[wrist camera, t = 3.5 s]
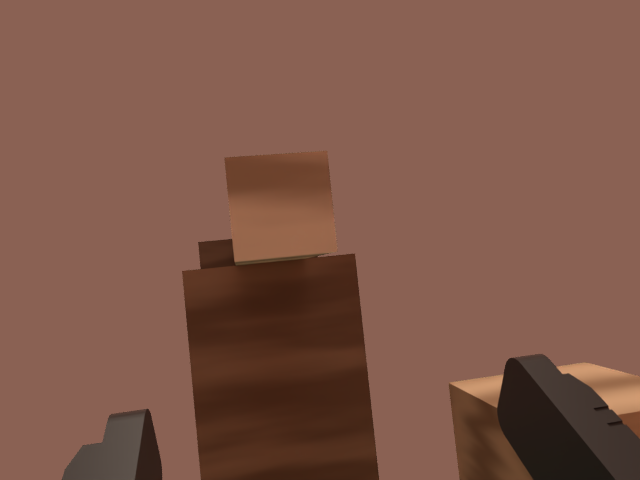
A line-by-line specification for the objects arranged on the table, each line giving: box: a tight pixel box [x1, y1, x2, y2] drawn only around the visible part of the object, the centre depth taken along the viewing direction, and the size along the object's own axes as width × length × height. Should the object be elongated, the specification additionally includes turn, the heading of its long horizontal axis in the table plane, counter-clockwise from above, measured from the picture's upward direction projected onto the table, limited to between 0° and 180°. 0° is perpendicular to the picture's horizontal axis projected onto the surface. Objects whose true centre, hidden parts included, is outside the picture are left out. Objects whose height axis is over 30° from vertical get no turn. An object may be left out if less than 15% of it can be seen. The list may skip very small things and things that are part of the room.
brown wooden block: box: [225, 151, 337, 266], centre depth 32 cm, size 24×4×4 cm, turn 9°
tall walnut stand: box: [182, 239, 379, 480], centre depth 37 cm, size 17×11×34 cm, turn 9°
